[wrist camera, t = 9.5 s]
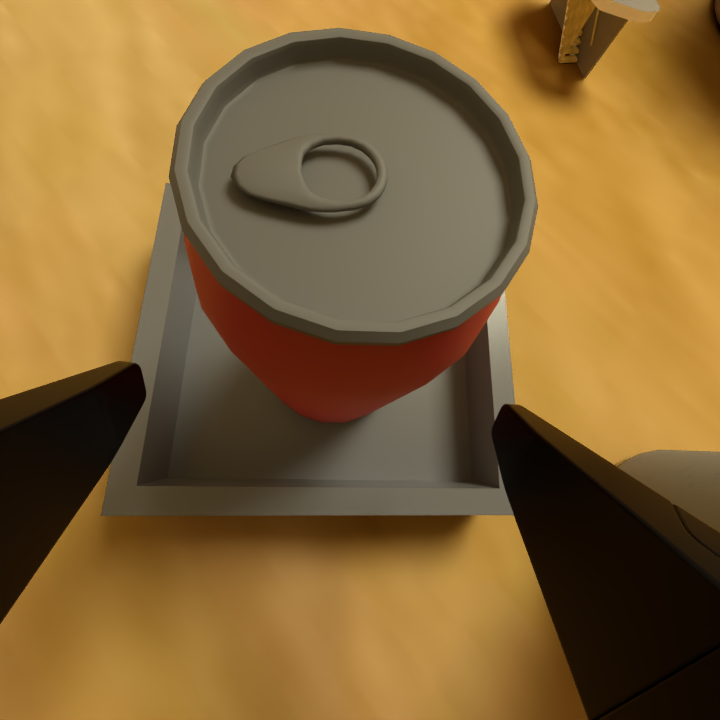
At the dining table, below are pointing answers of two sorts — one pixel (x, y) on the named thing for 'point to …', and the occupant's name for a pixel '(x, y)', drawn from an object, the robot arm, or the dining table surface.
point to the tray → (295, 425)
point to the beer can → (349, 214)
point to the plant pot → (717, 10)
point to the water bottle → (682, 480)
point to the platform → (595, 26)
